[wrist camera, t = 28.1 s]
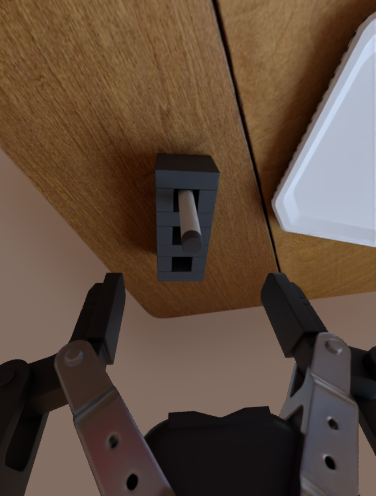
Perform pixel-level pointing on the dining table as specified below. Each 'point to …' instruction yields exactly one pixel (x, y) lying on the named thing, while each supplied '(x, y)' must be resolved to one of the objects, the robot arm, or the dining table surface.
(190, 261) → the pen block
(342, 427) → the robot arm
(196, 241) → the stylus
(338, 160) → the plate
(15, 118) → the dining table surface
